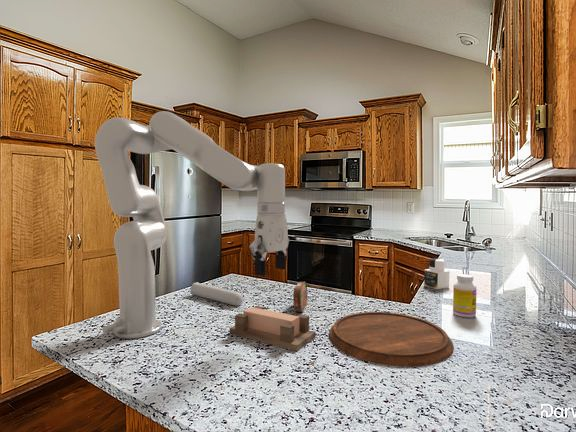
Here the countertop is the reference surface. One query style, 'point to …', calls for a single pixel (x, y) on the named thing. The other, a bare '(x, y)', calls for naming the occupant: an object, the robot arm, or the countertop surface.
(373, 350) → the cutting board
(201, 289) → the tube
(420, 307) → the countertop surface
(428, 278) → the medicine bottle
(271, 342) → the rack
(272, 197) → the robot arm
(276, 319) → the clay strip
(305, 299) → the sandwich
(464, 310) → the supplement bottle
